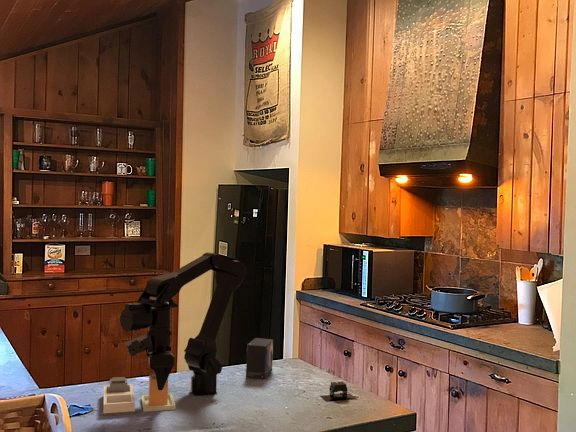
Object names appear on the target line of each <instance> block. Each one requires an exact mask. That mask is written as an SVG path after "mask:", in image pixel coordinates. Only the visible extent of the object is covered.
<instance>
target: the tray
mask: <svg viewBox="0 0 576 432" xmlns="http://www.w3.org/2000/svg"><path fill="white" fill-rule="evenodd" d="M140 400H141V405H142V411H143V412H144V413H145V412H157V411H168V410H169V411H170V410H171V411H173V410H176V409H177V408H176V402H175V400H174V397H173V394H172V393H168V405H162V406H149V394H148V395H147V394H146V395H145V394H143V395H142V394H141V399H140Z"/></svg>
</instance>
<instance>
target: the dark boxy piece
mask: <svg viewBox="0 0 576 432" xmlns="http://www.w3.org/2000/svg"><path fill="white" fill-rule="evenodd" d="M348 391H349V390H348V386H347V383H345V382H344V381H331V382H330V385H329V394H327V395H319V397H320V398H321V399H322V400H323V401H324V402H326V403H329V402H341V401H342V402H343V401H355V400H358V398H357V397H356V396H354V395H353V394H351V393H348ZM338 392H339V393H338Z"/></svg>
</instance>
